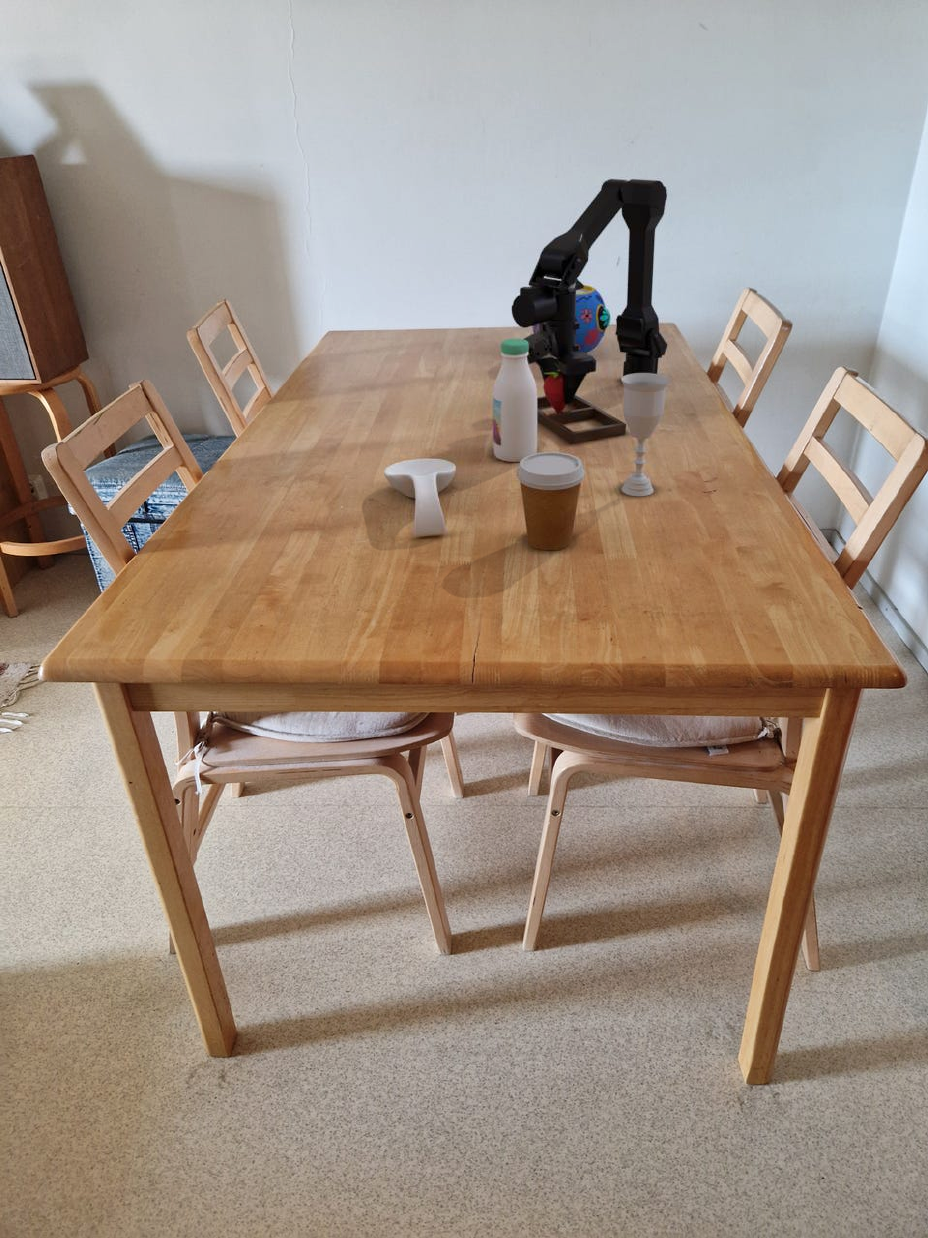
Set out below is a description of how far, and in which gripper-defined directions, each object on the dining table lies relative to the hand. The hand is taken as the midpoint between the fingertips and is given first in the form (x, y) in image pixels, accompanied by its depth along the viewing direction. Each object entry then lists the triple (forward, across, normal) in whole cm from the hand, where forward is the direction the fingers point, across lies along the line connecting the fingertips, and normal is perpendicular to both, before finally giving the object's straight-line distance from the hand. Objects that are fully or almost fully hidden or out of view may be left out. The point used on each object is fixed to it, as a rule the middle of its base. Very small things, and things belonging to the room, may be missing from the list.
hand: (558, 398), depth 176 cm
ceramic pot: (+3, -37, +22) cm, 43 cm away
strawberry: (+3, 0, 0) cm, 3 cm away
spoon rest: (+3, +29, -39) cm, 49 cm away
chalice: (+3, +39, -6) cm, 40 cm away
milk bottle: (+3, +16, -17) cm, 24 cm away
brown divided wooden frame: (+3, +5, 0) cm, 6 cm away
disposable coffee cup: (+3, +49, -27) cm, 56 cm away
